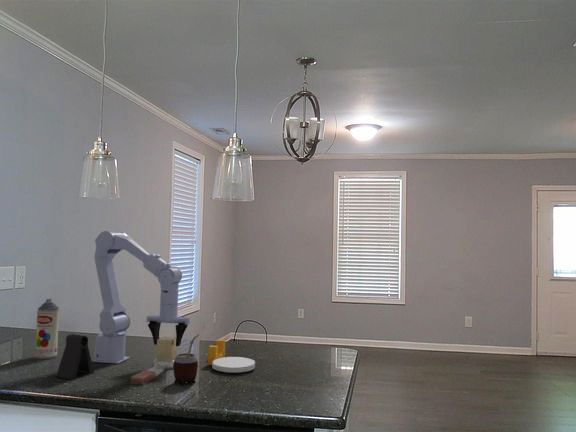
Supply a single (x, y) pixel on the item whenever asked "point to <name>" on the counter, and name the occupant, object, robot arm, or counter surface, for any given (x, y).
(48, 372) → the counter surface
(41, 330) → the aerosol can
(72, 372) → the phone stand
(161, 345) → the tan rectangular block
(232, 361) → the plastic lid
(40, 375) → the counter surface
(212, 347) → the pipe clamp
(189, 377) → the mate gourd
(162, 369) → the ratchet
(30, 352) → the counter surface
